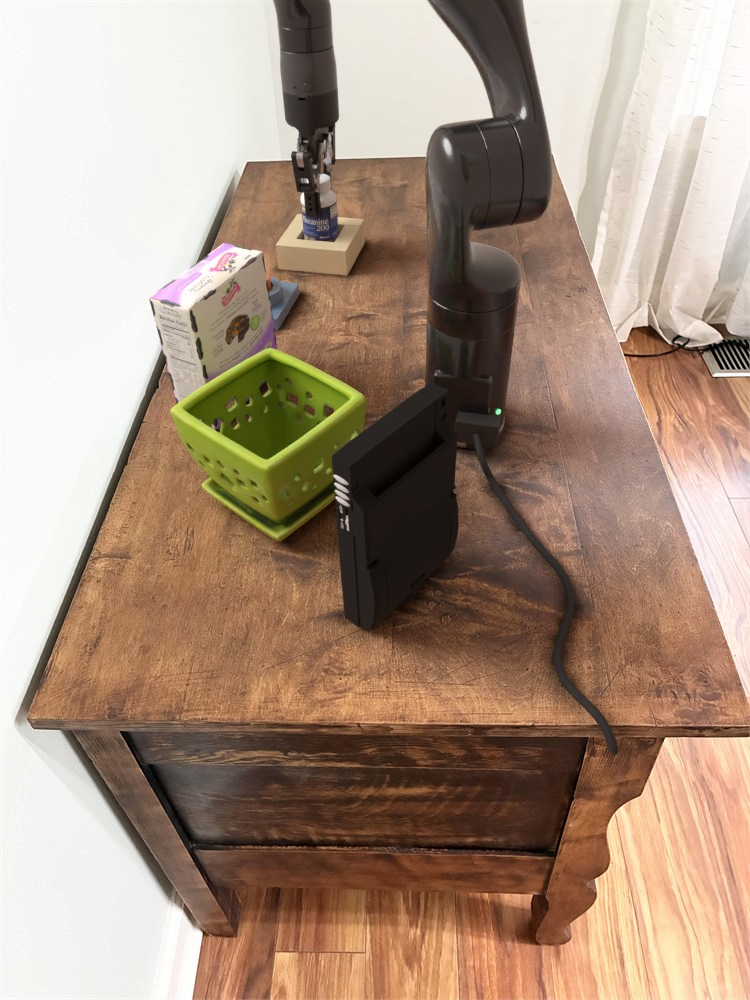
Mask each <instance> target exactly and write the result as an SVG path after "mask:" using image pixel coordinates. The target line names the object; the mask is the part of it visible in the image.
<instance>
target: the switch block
mask: <svg viewBox="0 0 750 1000" xmlns="http://www.w3.org/2000/svg"><path fill="white" fill-rule="evenodd" d="M269 276H270V281H271V290H269V295H270V302H271V309H272V315H273V322H274V329H275V331H278V330H280V328H281V326H282V325H283V322H284V321H285V319H286V317H287V316H288V315H289V313H290V311H291V309H292V308H293V307H294V304H295V303H296V301H297V299H298V298H299V296H300V295H301V291H300V283H297V282H286V281H280V279H278V278H276V277H274V276H271V275H269Z"/></svg>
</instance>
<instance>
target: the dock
mask: <svg viewBox="0 0 750 1000" xmlns="http://www.w3.org/2000/svg"><path fill="white" fill-rule="evenodd" d="M338 234H339V235H338V237H337V239H336V241H335V242H325V241H314V240H304V232H303V220H302V213H297V214H296V215H295V217H294V218H293V220H292V221H291V223H290V224H289V226H288V227H287V228H286V230H284V232H283V234H282V235H281V237H280V238H279V240H278V241H277V242H276V244H275V251H276V258H277V266H278V270H282V271H283V270H284V271H293V272H304V273H317V274H327V275H337V276H348V275H349V273H350V271H351V270H352V268H353V266H354V264H355V263H356V260H357V258H358V256H359V254H360V253H361V251H362V249H363V248H364V245H365V243H366V241H365V240H366V239H365V238H366V237H365V235H366V234H365V219H364V218H356V217H355V218H354V217H342V216H338Z"/></svg>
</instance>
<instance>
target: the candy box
mask: <svg viewBox="0 0 750 1000" xmlns="http://www.w3.org/2000/svg"><path fill="white" fill-rule="evenodd" d="M265 263H266V262H265V257H264V252H263V251H262V250H257V249H253V248H248V247H245V246H238V245H236V244H235V245H234V244H231V243H227V242H226V243H225V242H223V243H222V244H221V245H218V247H216V248H215V249H213V250H212V251H211V252H210V253H208V254H207V255H206V256H204V257H203V258H201V259H199V261H198V262H196V263H195V264H193V265H191V266H190V267H189V268H188V269H186V270H184V271H183V272H181V274H179V275H178V276H176V277H174V279H173V280H171V281H170V282H168V283H167V284H165V285H164V286H163V287H161V288H160V289H158V290H157V291H156V292H154V293H153V294H151V295H150V296H148V300H149V304H150V306H151V312H152V316H153V319H154V323H155V326H156V330H157V334H158V337H159V342H160V346H161V349H162V353H163V357H164V361H165V365H166V369H167V372H168V376H169V380H170V384H171V386H172V387H171V388H172V391H173V395H174V399H175V403H176V405H177V404H178V403H179V402H181V401H182V400H183V399H185V398H186V397H187V396H189V395H190V394H192V393H193V392H195V391H196V390H198V389H199V388H201V387H202V386H204V385H205V384H207V383H208V382H210V381H211V380H213V379H215V378H216V377H218V376H219V375H221V374H223V373H224V372H226V371H228V370H229V369H231V368H233V367H234V366H236V365H238V364H239V363H241V362H243V361H245V360H246V359H248V358H250V357H252V356H254V355H256V354H257V353H259V352H261V351H263V350H265V349H268V348H273V349H276V350H278V343H277V337H276V330H275V329H274V322H273V315H272V309H271V302H270V295H269V289H268V282H267V276H266V273H267V270H266V264H265ZM265 384H267V382H266V381H264V382H263V383H262V384H261V385H260V386H259V389H262V387H264V385H265ZM248 401H250V397H249V398H247V400H246V403H247V402H248ZM234 405H235V400H234V397H233V398H231V399H230V400H229V401H228V402H227V403H226V408H227V410H229V409H230V408H231V407H233V406H234ZM200 421H201V419H200ZM211 428H212V429H214V430H216V431H217V430H220V428H221V420H220V419H214V421H213V424H212V427H211Z"/></svg>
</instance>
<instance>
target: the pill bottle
mask: <svg viewBox="0 0 750 1000" xmlns="http://www.w3.org/2000/svg"><path fill="white" fill-rule="evenodd" d="M307 183H309V181H308V179H307ZM331 184H332V179H331V180H330V176H328V175H326V174H322V175H320V185H319V187H320V190H319V191H320V203H321V215H320V216H319V217H308V216H307V215H306V212H305V201H304V192H301V195H300V209H301V214H302V220H303V232H304V240H314V241H325V242H335V241H336V239H337V237H338V235H339V234H338V217H339V216H338V201H337V194H336V193H335V191H334V190H333V189H332V190H331V189H330V188H331Z"/></svg>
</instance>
